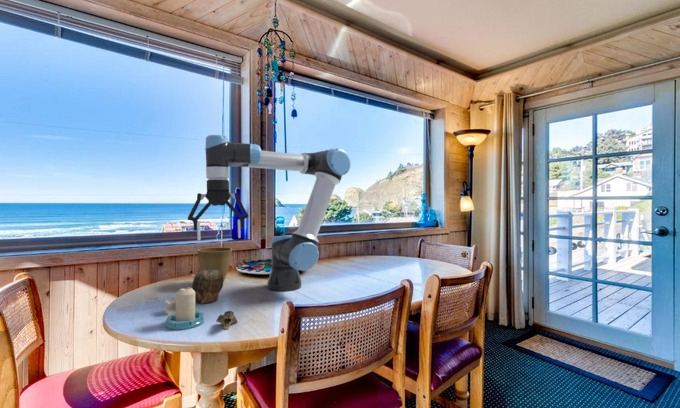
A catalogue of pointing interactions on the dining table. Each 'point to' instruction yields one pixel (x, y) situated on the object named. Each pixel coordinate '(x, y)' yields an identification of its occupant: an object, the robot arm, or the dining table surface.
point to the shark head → (227, 319)
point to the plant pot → (215, 259)
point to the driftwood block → (170, 306)
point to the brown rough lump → (207, 286)
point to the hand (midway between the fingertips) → (219, 238)
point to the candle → (185, 304)
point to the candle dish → (184, 322)
